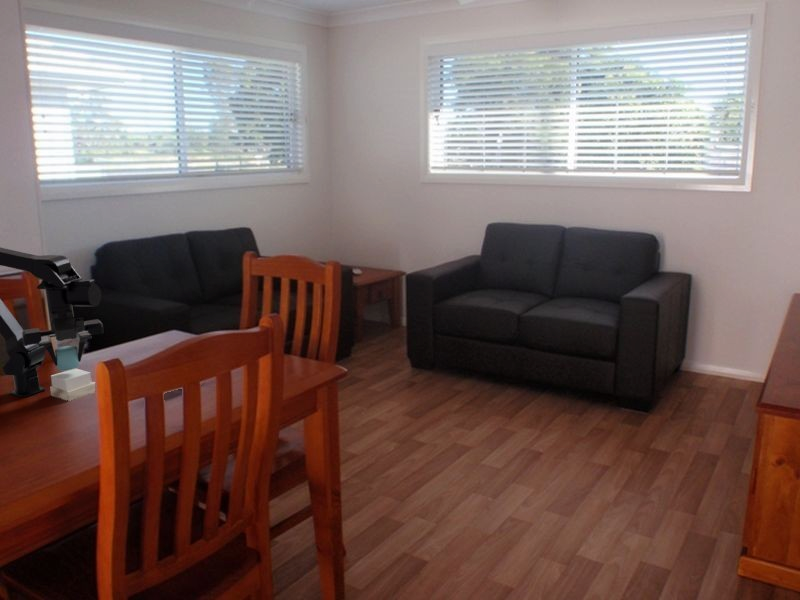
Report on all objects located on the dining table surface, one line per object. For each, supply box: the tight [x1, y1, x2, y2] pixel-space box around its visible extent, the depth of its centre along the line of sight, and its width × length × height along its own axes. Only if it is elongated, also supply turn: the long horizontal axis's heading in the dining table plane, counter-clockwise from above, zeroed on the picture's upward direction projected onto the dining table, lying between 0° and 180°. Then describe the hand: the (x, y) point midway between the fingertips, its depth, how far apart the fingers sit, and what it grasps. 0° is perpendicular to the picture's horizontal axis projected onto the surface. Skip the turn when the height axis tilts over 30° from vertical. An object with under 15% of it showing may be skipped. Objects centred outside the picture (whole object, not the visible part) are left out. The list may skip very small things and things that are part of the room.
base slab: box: [49, 381, 96, 402], centre depth 187 cm, size 8×8×3 cm
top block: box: [50, 367, 93, 391], centre depth 186 cm, size 7×7×3 cm
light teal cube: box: [54, 345, 80, 371], centre depth 184 cm, size 5×5×5 cm
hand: (67, 363), depth 185 cm, fingers closed on light teal cube, 5 cm apart
